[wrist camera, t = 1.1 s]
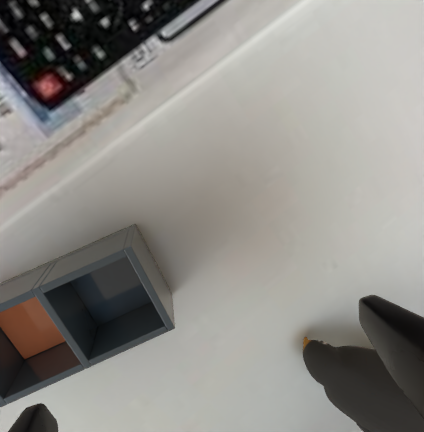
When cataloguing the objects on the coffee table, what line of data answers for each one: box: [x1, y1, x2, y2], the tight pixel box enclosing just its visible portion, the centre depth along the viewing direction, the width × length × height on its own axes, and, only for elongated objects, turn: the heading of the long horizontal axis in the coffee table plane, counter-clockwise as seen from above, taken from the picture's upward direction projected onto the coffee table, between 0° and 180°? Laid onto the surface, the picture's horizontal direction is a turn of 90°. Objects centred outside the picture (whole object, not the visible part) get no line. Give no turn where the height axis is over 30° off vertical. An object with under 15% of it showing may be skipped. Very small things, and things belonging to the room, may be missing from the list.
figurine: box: [303, 337, 424, 432], centre depth 25 cm, size 7×10×15 cm
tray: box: [0, 224, 175, 407], centre depth 21 cm, size 16×6×4 cm, turn 113°
